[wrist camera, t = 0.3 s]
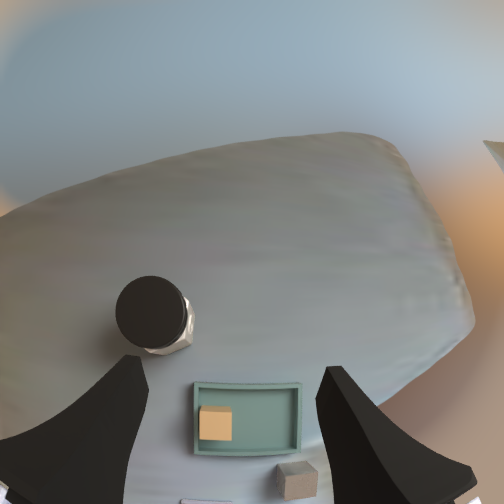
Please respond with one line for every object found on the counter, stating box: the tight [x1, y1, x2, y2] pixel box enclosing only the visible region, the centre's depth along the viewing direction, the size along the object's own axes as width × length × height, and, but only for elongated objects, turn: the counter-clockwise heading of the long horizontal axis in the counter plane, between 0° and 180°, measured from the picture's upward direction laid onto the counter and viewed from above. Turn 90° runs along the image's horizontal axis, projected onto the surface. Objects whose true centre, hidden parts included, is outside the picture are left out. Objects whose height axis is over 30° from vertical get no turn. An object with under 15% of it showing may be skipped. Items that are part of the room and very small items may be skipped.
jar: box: [116, 276, 195, 355], centre depth 33 cm, size 9×8×12 cm
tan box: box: [200, 405, 232, 441], centre depth 31 cm, size 4×4×5 cm
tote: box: [194, 382, 302, 456], centre depth 33 cm, size 11×15×2 cm
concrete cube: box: [276, 461, 318, 501], centre depth 28 cm, size 5×5×6 cm
